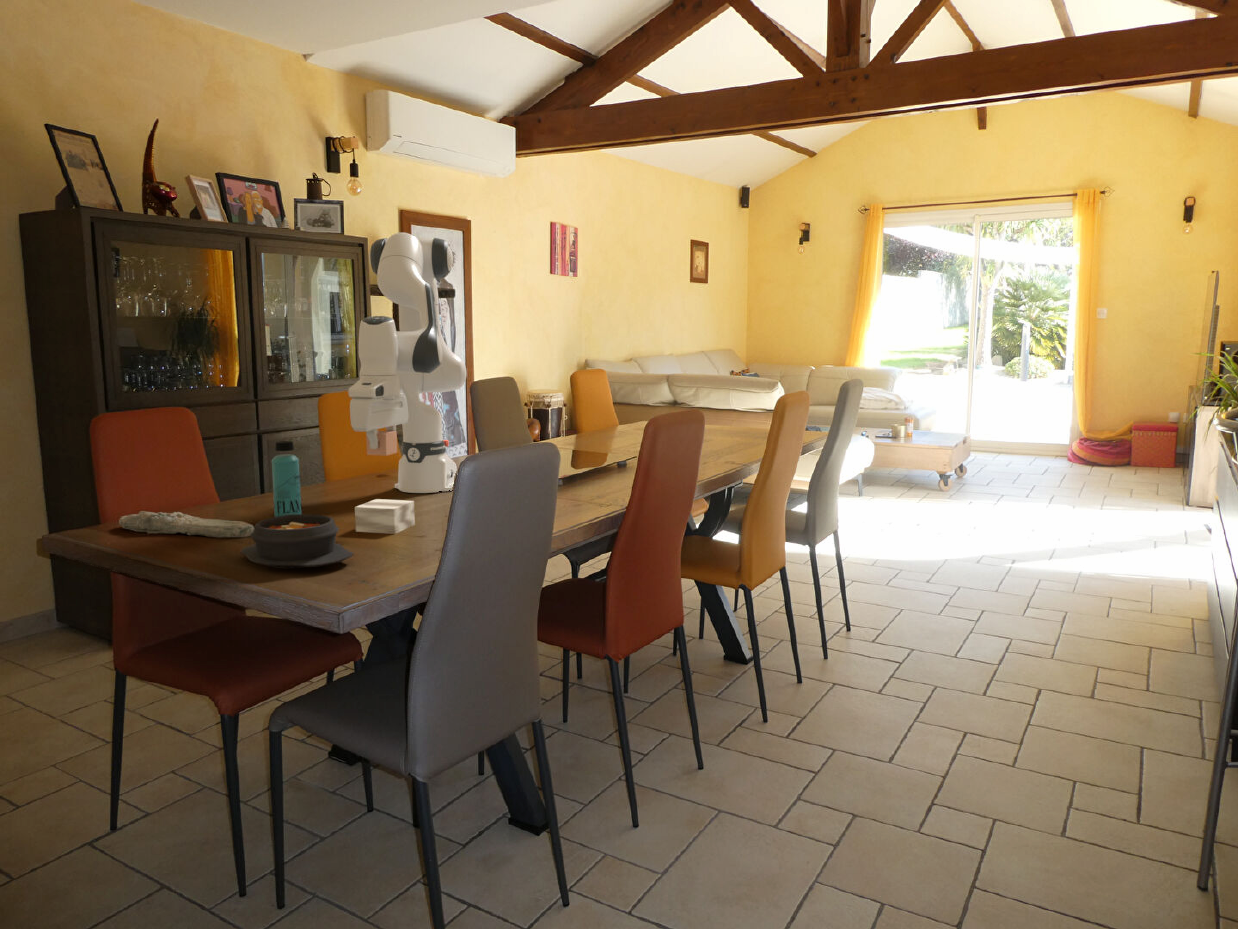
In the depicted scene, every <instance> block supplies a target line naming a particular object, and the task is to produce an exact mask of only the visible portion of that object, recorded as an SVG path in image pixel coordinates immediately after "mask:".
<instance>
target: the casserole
mask: <svg viewBox="0 0 1238 929" xmlns="http://www.w3.org/2000/svg"><path fill="white" fill-rule="evenodd" d="M339 531H340V527H339V526H337V524H336V522H335V520H334V518H333V517H332V516H327V515H322V514H314V513H310V514H308V513H306V514H304V513H302V514H298V515H286V516H278V517H275V516H272V517H271V518H266V519H262V520H260V521H258V522H257V523H256V524H255V525H254V531H253V532H252V533H251V536H250V538H252V540H254V544H252V545H249V546H245V547H243V548H242V549H241V550H240V553H241V554H243V555H244V556H246V558H247V560H249V561H250V562H253V563H256V564H259V565H264V566H267V567H273V568H276V569H277V568H278V569H300V568H309V567H310V568H312V567H313V568H315V567H321V566H327V565H332V564H336V563H340V562H343V561H345V560H347V559H350V558H352V557H353V556H354V552H353V551H350V550H348V549H346V548H345V547H343V545H341V544H339V543H336V539H337V534H338V532H339Z"/></svg>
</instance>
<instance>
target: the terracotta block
mask: <svg viewBox="0 0 1238 929" xmlns="http://www.w3.org/2000/svg"><path fill="white" fill-rule="evenodd" d="M397 433H398V432H397V430H396V431H387V430H378V434H376V435H377V439H378V441H380V448H377V449H371V448H370V441H369V439H368V437H367V435H365V436H366V437H365V438H366V455H367V456H369V455H370V456H390V455H394V454H397V453H398V437H397Z"/></svg>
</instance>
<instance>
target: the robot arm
mask: <svg viewBox="0 0 1238 929" xmlns="http://www.w3.org/2000/svg"><path fill="white" fill-rule="evenodd" d="M368 259H369V264H370V266H371V270H372V272H373V273H374V274H375V275H376V280H377V281H376V284H377V286H378V288H379V289H378V290H380V292H381V293H382V295H383V296H384V297H385V298H386V299H388V300H389V301H390V302H392V303H394V304H397V305H398V321H399V330H397V328H396V323H395V320H394V318H392V317H390V316H386V315H375V316H374V315H373V316H368V317H365V318H363V319H361V321H360V323H359V324H360V325H359V329H358V330H359V332H358V357H359V361H360V370H359V379H358V380H357V381H356V382H355V383H354V384H353V385H351V386H350V387H349V388H348V390H347V392H348V397H349V398H351V399H350V401H349V415H350V425H351V428H352V430H353V431H354V432H365V434H366V435H367V437H368V439H369V441H370V448H371V449H377V448H380V441H378V439H377V435H376V434H378V431H379V430H380V429H384V428H385V431H396V432H397V426H398V425H402V437H403V440H402V441H401V454H402V457H401V458H400V459H399V460H398V472H397V473H398V474H397V475H398V476H397V483H395V484H394V488H395V489H398V490H399V491H400V492H402V493H409V494H410V493H411V494H428V493H429V494H430V493H431V494H432V493H440V492H439V491H442V492H453V491H452V487H453V484H454V476H455V473H456V471H457V472H458V467H457V464H456V462H454V460H453V459H452V458H451V457H450V456H449V455H448V454H447V453H446V452H447V449H446V448H448V447H449V446H450V443H449V442H450V441H449V440H448V439H443V420H442V418H443V417H442V414H441V413H440V411H439V410H438V409H437V408H435V407H434V406H431V405H430V404H427V403H425V402H423V401H422V400H421V399H420V394H423V393H424V394H425V393H426V394H427V393H446V392H447V393H448V392H451V391H456V390H460V389H461V388H462V387H463V385H464V384H465V382H466V380H467V376H468V374H467V372H468V371H467V368H466V367H467V366H466V364H465V363H464V361H463V360H462V359H461V357H459V355H457V354H455V353H454V352H453V351H452V349H450V348H449V346H448V345H447V343H446V341H445V339H444V337H443V334H442V331H441V330H442V329H441V324H440V323H441V321H440V305H439V304H440V302H439V290H438V284H437V283H441V281H442V279H445V278H447V276H448V275H449V274H450V273H451V270H452V267H453V265H454V255H453V251H452V248H451V245H450V244H449V242H448V241H447V240H445V239H443V238H439V237H438V238H437V237H434V238H430V237H423V236H422V237H420V236H414V235H413V234H412V233H411V234H410V233H408V232H396V233H394V234H391V236H389V237H388V238H387V237H386V238H380V239H377V240H375V241H373V243H372V244H371V246H370V250H369V258H368ZM366 435H365V436H366ZM449 490H450V491H449Z"/></svg>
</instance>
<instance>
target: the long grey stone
mask: <svg viewBox="0 0 1238 929" xmlns="http://www.w3.org/2000/svg"><path fill="white" fill-rule="evenodd" d="M118 523H119V524H118V525H120V526H121V527H122V529H125V530H130V531H132V532H133V531H134V532H137V533H138V532H140V533H147V534H166V535H168V534H171V535H174V534H177V533H178V534H179V533H180V534H185V535H188V536H197V535H198V536H205V537H210V538H211V537H212V538H219V539H221V538H247V537H251V533H252V532H253V531H254V529H255V526H254V525H253V524H250V523H248V522H245V521H238V520H225V519H215V518H214V519H211V518H202V517H198V516H192V515H189V514H187V513H182V512H180V511H177V512H176V511H174V512H171V513H169V512H168V513H167V512H162V511H160V512H153V511H145V510H143V511H142V510H141V511H139V512H138V513H135V514H134V513H133V514H132V513H131V514H128V515H123V516H120V518H119V520H118Z"/></svg>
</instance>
